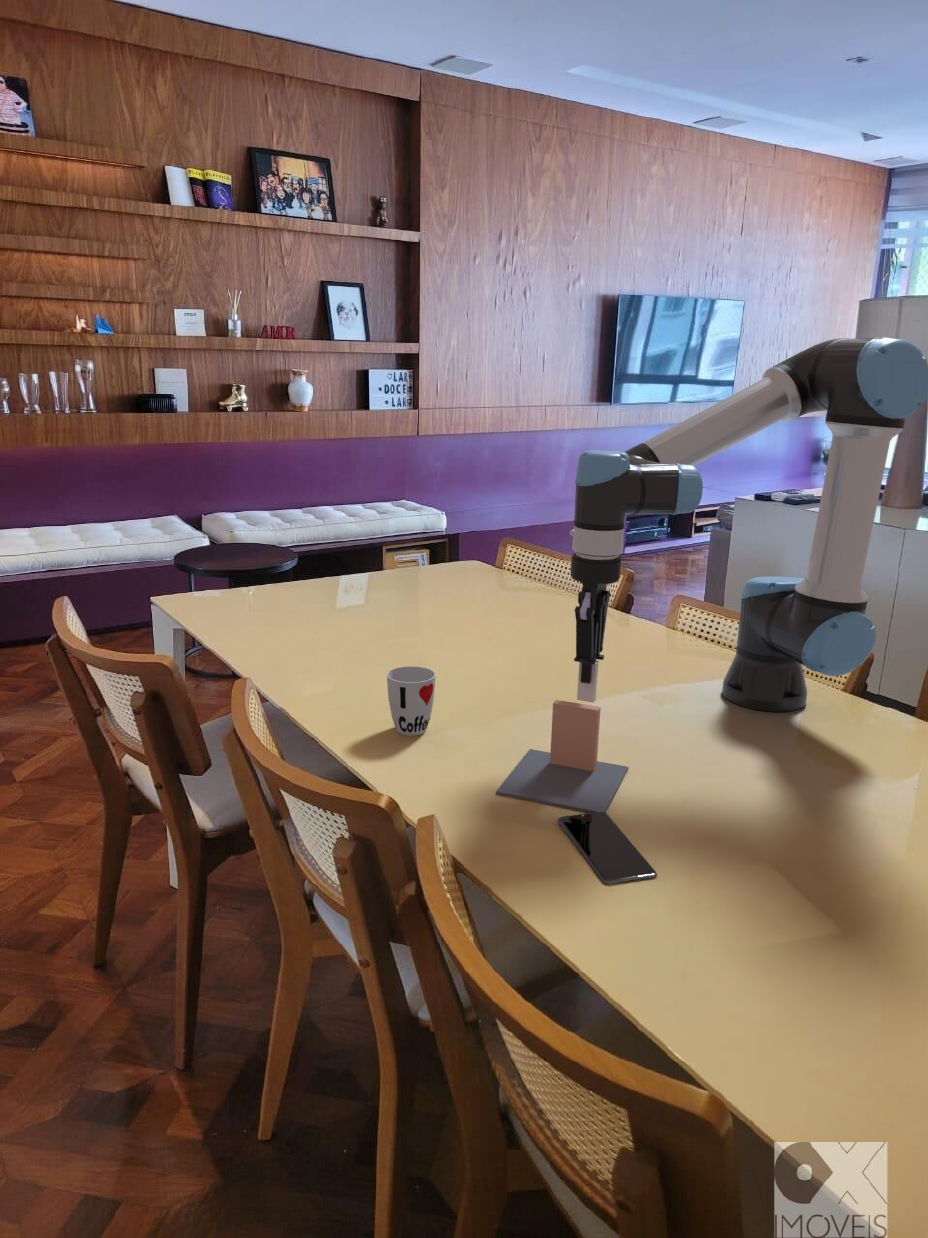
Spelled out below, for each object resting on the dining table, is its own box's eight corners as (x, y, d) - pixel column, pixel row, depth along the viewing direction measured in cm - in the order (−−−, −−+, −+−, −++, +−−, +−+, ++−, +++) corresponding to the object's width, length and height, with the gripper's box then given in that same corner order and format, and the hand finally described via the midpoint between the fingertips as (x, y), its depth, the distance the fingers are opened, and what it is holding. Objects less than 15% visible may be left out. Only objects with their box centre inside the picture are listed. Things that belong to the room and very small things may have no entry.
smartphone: (605, 882, 110) (556, 816, 124) (604, 890, 110) (555, 823, 125) (659, 874, 112) (605, 810, 126) (659, 881, 112) (605, 817, 127)
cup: (392, 741, 149) (391, 684, 146) (383, 722, 156) (382, 667, 153) (440, 737, 151) (440, 680, 148) (428, 718, 158) (429, 664, 156)
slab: (596, 767, 140) (600, 706, 137) (594, 771, 139) (598, 710, 136) (552, 759, 143) (555, 699, 140) (549, 763, 141) (552, 703, 138)
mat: (628, 769, 141) (628, 766, 141) (604, 815, 126) (604, 813, 126) (529, 751, 146) (529, 748, 146) (495, 793, 132) (496, 791, 132)
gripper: (583, 544, 145) (574, 683, 152) (560, 559, 133) (551, 709, 140) (630, 548, 142) (618, 690, 149) (611, 565, 131) (599, 718, 137)
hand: (586, 699), depth 144 cm, fingers closed
